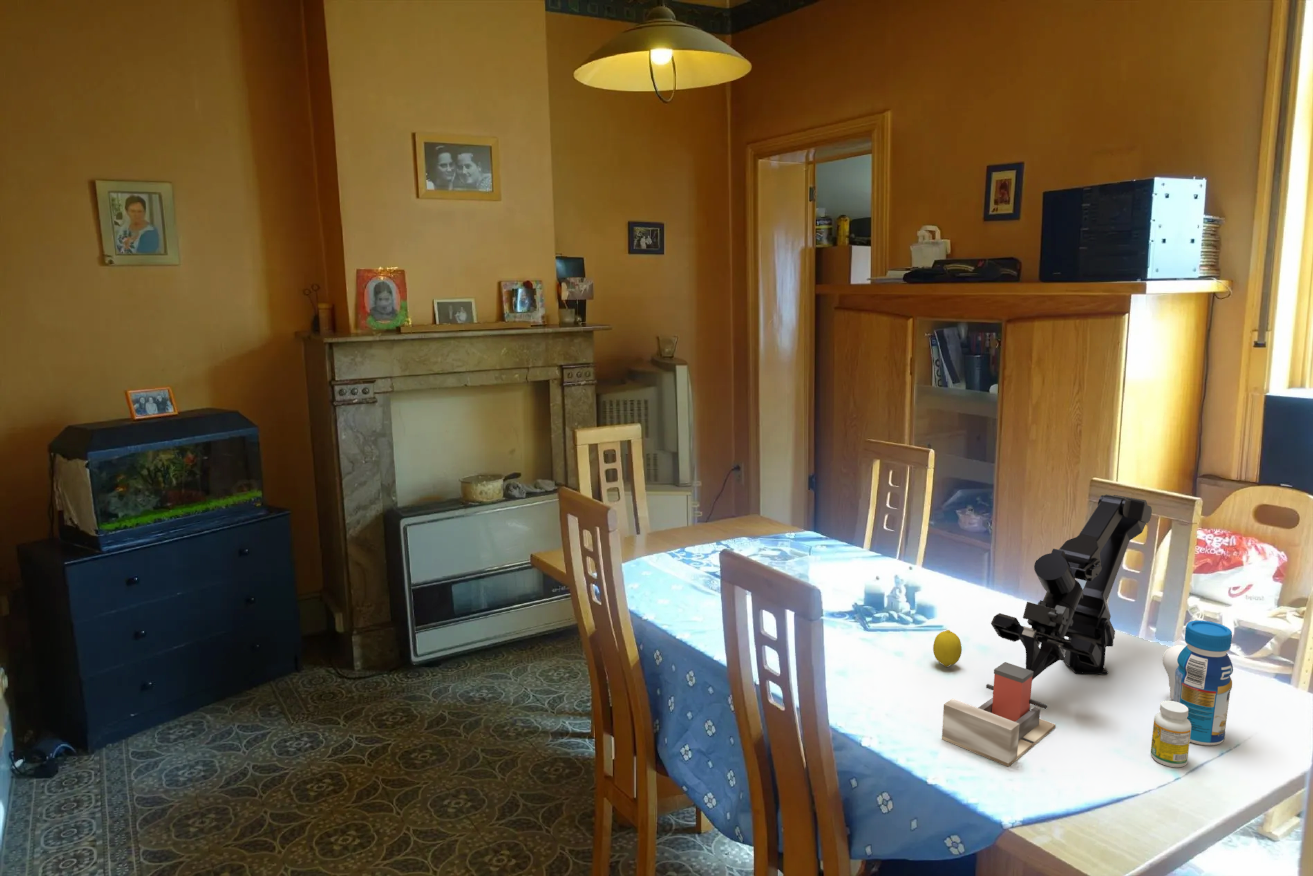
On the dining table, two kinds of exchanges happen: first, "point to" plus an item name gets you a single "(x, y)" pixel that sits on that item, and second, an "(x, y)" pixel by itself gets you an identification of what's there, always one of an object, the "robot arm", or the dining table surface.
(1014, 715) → the red plug
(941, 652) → the lemon
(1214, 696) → the beverage bottle
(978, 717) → the beige base board
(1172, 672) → the lightbulb
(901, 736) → the dining table surface
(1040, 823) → the dining table surface
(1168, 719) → the supplement bottle
